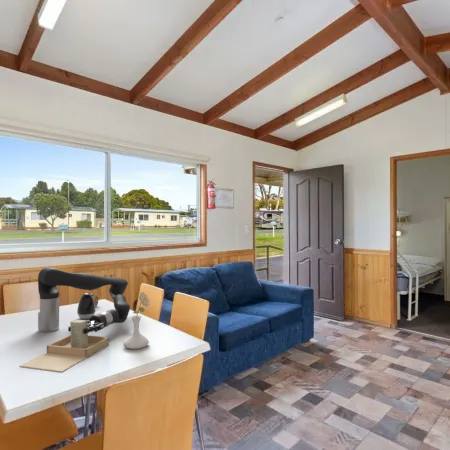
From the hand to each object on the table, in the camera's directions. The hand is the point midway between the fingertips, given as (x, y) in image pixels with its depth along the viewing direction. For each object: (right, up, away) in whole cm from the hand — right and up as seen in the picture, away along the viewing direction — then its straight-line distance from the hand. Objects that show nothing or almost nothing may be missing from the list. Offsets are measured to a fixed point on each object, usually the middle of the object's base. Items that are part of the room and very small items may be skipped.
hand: (76, 330), depth 148 cm
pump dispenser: (-17, -9, +51) cm, 55 cm away
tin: (-24, -9, +75) cm, 79 cm away
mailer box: (-1, -9, -5) cm, 10 cm away
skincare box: (+1, -9, +1) cm, 9 cm away
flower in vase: (+26, -9, +5) cm, 28 cm away
